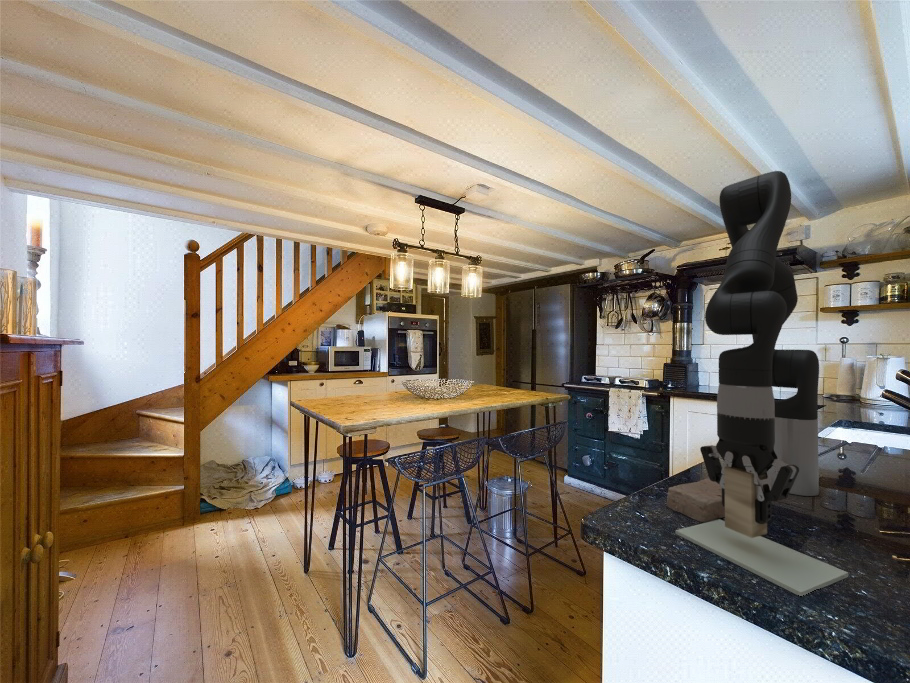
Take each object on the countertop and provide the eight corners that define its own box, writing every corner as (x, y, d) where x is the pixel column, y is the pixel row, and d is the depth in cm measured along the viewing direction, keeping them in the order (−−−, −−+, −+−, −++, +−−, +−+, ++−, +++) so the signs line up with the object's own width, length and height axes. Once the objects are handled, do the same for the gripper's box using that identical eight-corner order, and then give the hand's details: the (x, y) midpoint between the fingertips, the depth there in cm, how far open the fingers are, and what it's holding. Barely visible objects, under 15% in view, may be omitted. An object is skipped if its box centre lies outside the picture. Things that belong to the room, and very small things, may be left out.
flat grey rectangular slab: (719, 522, 70) (719, 519, 70) (848, 576, 53) (848, 572, 53) (675, 533, 66) (675, 530, 66) (801, 596, 49) (801, 592, 49)
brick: (704, 525, 70) (705, 500, 70) (664, 507, 77) (664, 484, 77) (756, 511, 76) (756, 488, 76) (714, 496, 84) (714, 475, 84)
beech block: (740, 522, 63) (739, 463, 63) (767, 533, 59) (766, 470, 60) (724, 526, 62) (724, 465, 62) (751, 538, 58) (751, 473, 58)
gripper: (812, 418, 56) (813, 532, 55) (715, 405, 69) (716, 497, 69) (782, 421, 53) (784, 542, 53) (688, 407, 66) (688, 503, 66)
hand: (745, 516), depth 61 cm, fingers closed on beech block, 4 cm apart
